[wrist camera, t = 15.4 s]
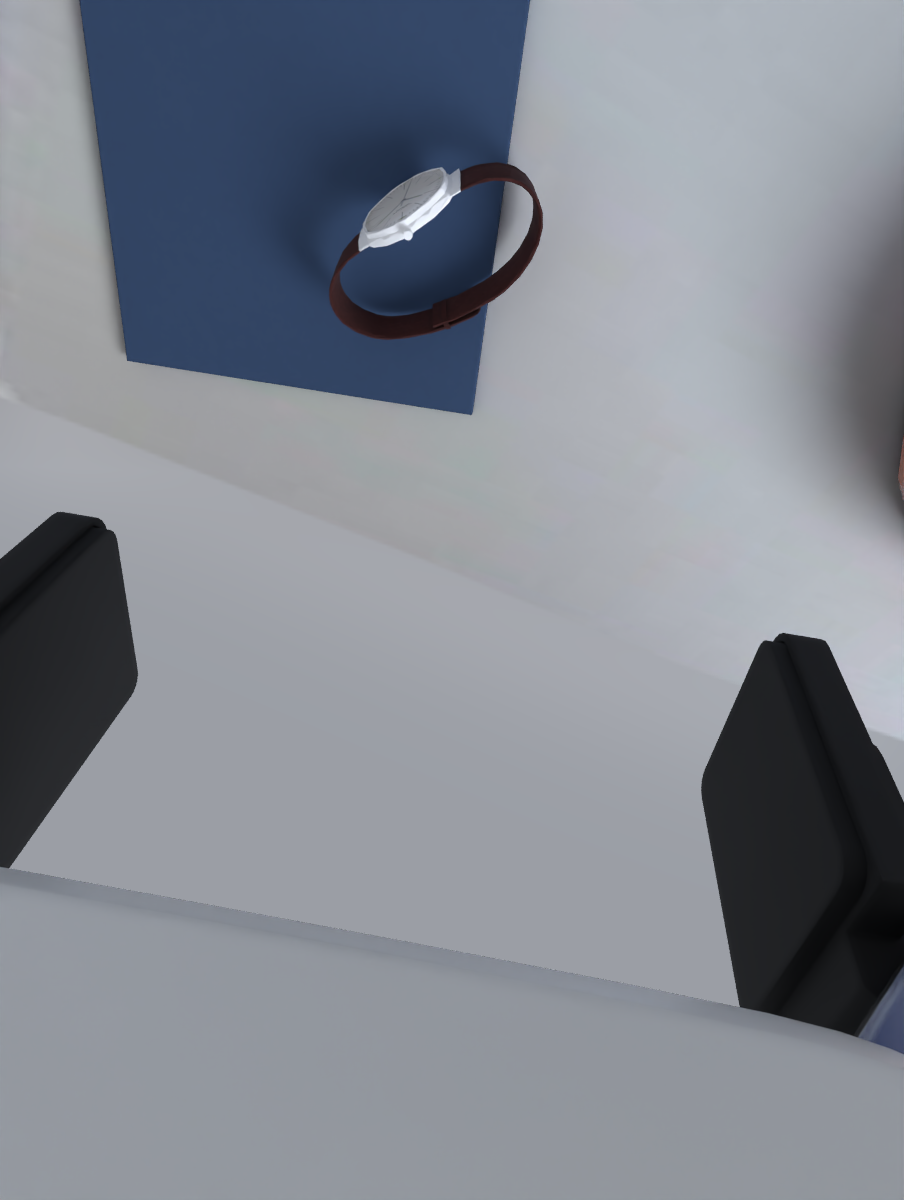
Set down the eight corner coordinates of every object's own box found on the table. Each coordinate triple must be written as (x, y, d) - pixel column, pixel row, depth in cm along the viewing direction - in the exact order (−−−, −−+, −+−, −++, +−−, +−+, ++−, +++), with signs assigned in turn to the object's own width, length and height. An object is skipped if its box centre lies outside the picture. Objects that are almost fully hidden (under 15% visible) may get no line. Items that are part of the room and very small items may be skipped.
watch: (508, 116, 25) (501, 124, 22) (569, 256, 27) (569, 281, 24) (314, 238, 27) (284, 260, 24) (382, 356, 29) (362, 390, 27)
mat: (472, 411, 31) (471, 415, 30) (131, 358, 31) (126, 360, 31) (562, -237, 20) (562, -242, 20) (45, -306, 21) (37, -312, 20)
